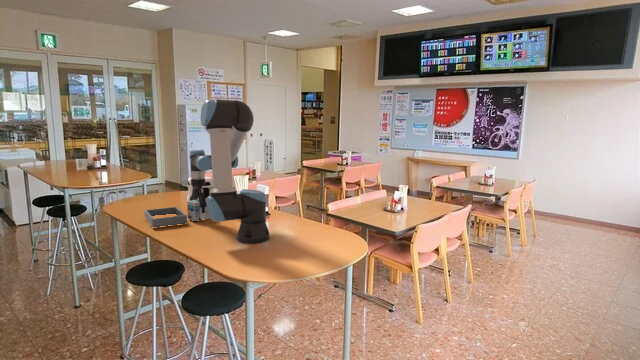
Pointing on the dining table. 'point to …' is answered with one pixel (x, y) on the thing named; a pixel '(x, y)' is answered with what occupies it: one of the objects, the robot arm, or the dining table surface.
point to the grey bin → (165, 221)
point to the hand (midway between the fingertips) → (199, 215)
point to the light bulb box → (195, 210)
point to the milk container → (206, 187)
